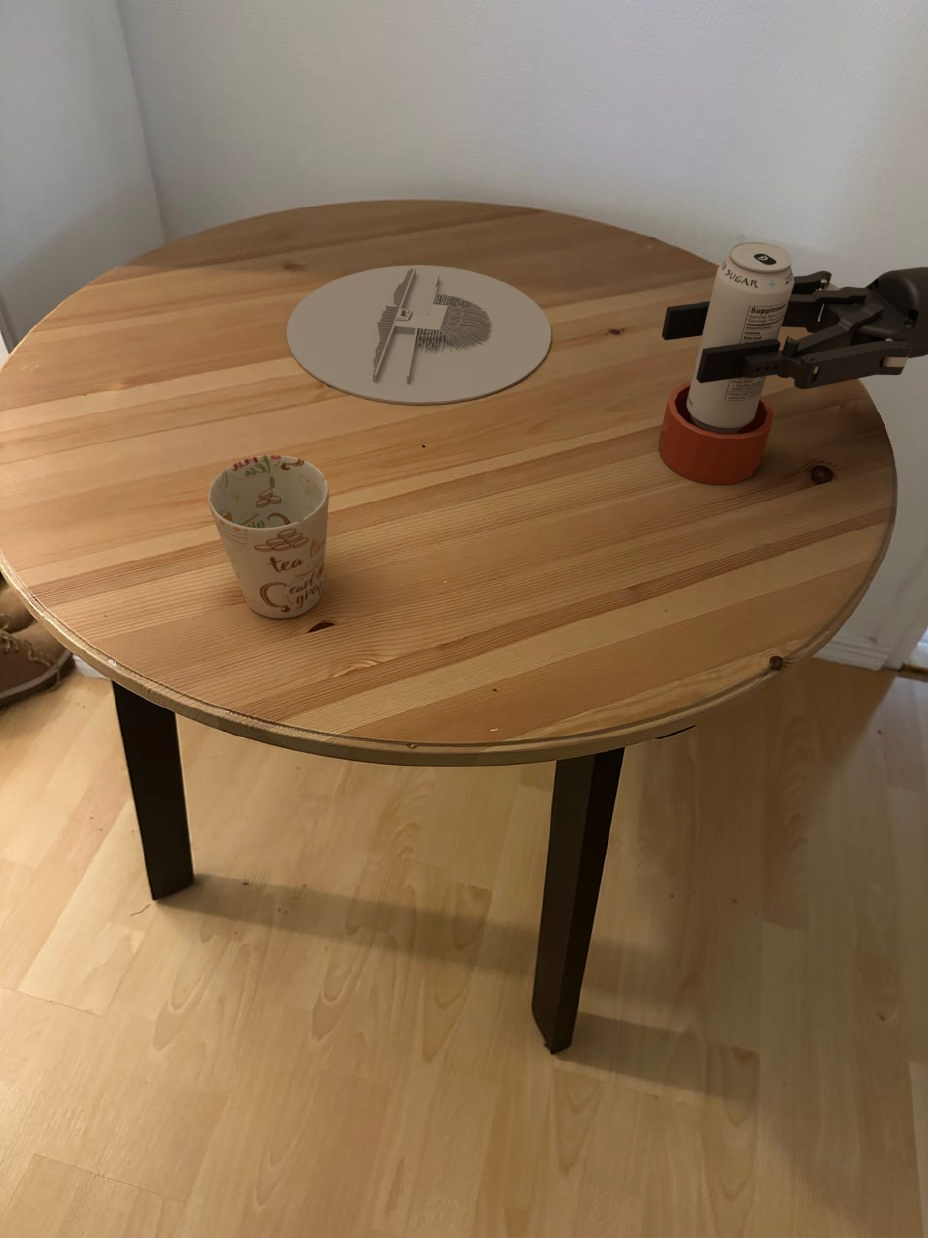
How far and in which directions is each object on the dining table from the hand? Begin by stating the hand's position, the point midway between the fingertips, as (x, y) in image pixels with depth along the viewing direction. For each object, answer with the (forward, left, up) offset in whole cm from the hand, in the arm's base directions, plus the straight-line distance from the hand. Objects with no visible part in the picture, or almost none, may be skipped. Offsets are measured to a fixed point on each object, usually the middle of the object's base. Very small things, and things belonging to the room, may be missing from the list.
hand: (683, 344), depth 78 cm
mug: (+12, +34, -12) cm, 38 cm away
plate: (+31, 0, -12) cm, 34 cm away
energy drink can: (-3, -4, -8) cm, 10 cm away
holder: (-3, -4, -12) cm, 13 cm away
